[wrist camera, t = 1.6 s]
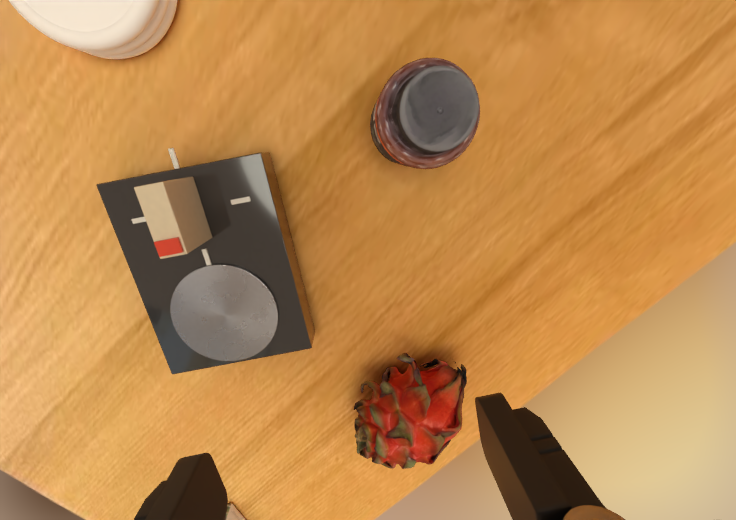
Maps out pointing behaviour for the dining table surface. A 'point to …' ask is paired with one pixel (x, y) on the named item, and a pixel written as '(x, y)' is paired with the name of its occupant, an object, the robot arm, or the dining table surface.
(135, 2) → the white short ridged cylinder
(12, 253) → the dining table surface
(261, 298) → the burner
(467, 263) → the dining table surface
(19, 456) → the dining table surface
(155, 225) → the knob
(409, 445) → the dragon fruit
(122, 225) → the hob
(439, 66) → the supplement bottle
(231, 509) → the syrup box
